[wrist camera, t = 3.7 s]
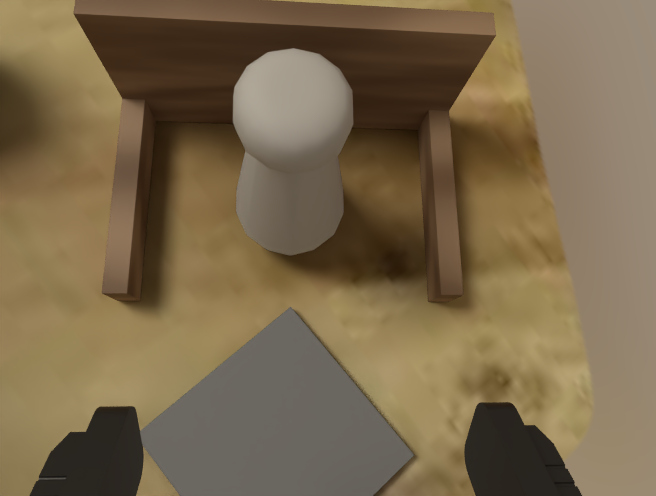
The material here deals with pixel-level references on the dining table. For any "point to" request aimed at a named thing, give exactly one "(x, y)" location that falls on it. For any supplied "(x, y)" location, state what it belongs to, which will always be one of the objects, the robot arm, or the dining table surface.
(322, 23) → the wooden stand
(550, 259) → the dining table surface
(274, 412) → the mat
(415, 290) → the dining table surface
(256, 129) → the salt shaker
